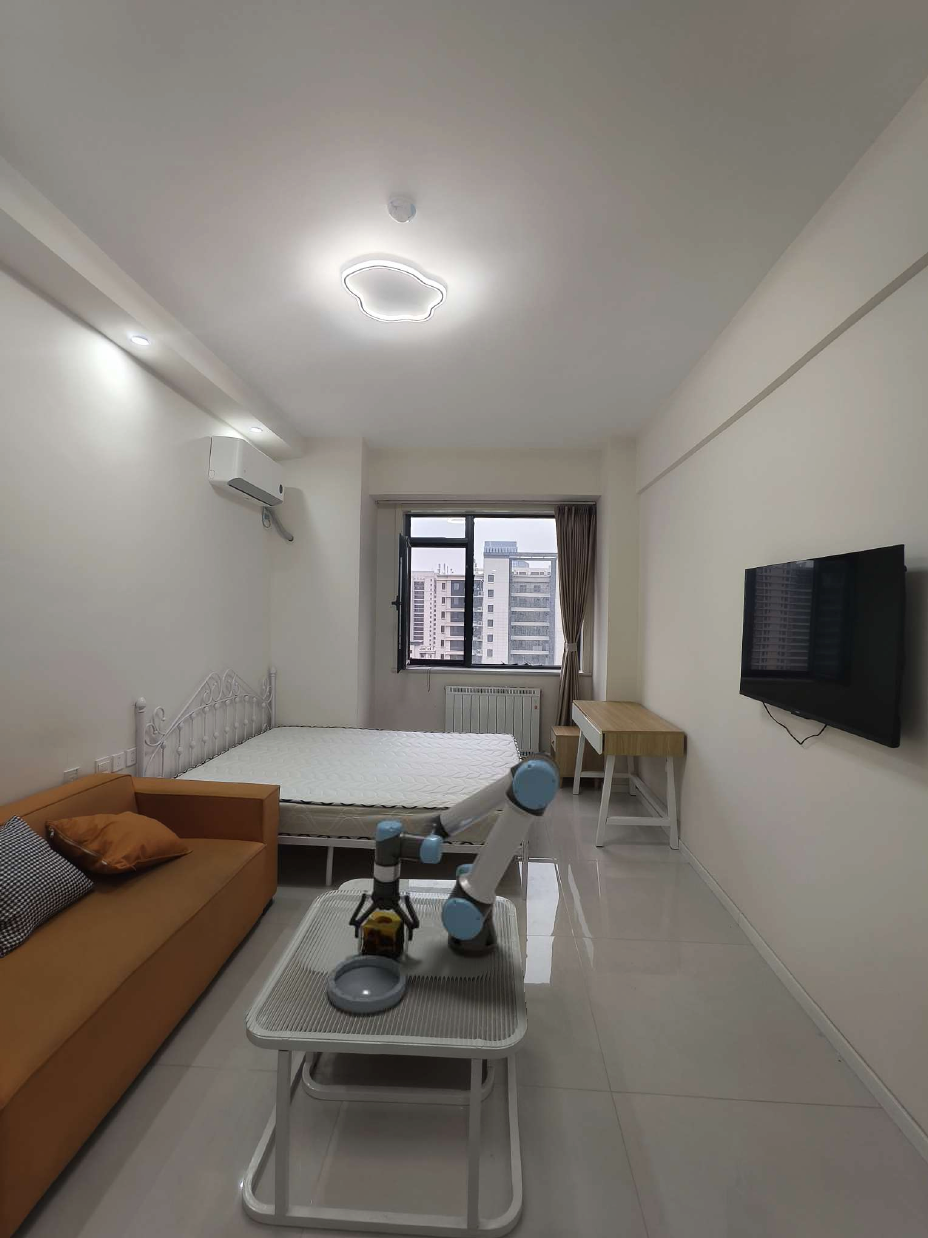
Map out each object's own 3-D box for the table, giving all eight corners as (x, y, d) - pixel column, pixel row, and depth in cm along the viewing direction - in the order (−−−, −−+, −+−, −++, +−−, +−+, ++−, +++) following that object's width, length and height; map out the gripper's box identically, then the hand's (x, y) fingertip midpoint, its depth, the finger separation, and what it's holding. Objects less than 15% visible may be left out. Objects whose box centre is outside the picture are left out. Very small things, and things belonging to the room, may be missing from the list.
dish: (408, 968, 164) (409, 957, 164) (400, 1015, 144) (401, 1003, 144) (337, 964, 164) (337, 954, 164) (319, 1012, 144) (320, 999, 144)
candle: (394, 968, 164) (395, 932, 164) (359, 962, 166) (361, 926, 166) (405, 948, 174) (406, 914, 174) (372, 943, 176) (374, 909, 176)
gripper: (430, 873, 174) (426, 945, 174) (346, 869, 174) (342, 941, 174) (428, 884, 166) (425, 959, 166) (341, 880, 166) (337, 955, 166)
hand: (383, 950), depth 170 cm, fingers open, 13 cm apart
